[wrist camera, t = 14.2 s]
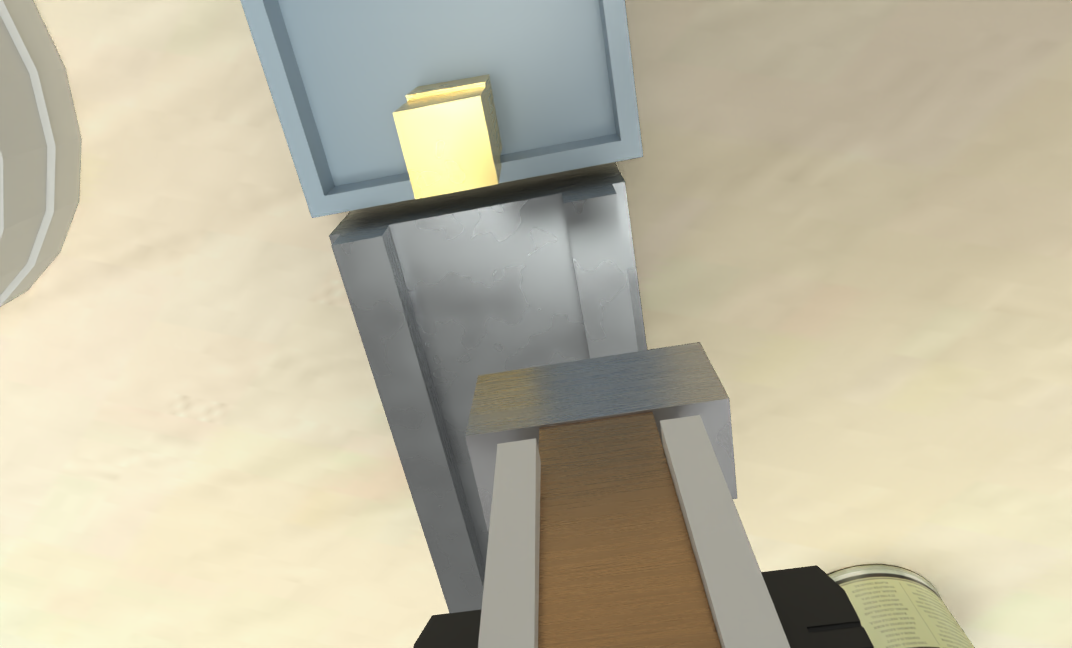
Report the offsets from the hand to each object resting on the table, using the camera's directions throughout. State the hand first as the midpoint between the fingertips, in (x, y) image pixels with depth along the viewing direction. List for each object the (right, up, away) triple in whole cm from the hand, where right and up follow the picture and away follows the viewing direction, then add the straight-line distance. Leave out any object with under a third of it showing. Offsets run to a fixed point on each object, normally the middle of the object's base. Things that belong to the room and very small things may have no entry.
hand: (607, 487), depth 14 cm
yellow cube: (-5, +11, +13) cm, 17 cm away
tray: (-5, +15, +15) cm, 22 cm away
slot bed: (-2, +1, +22) cm, 22 cm away
